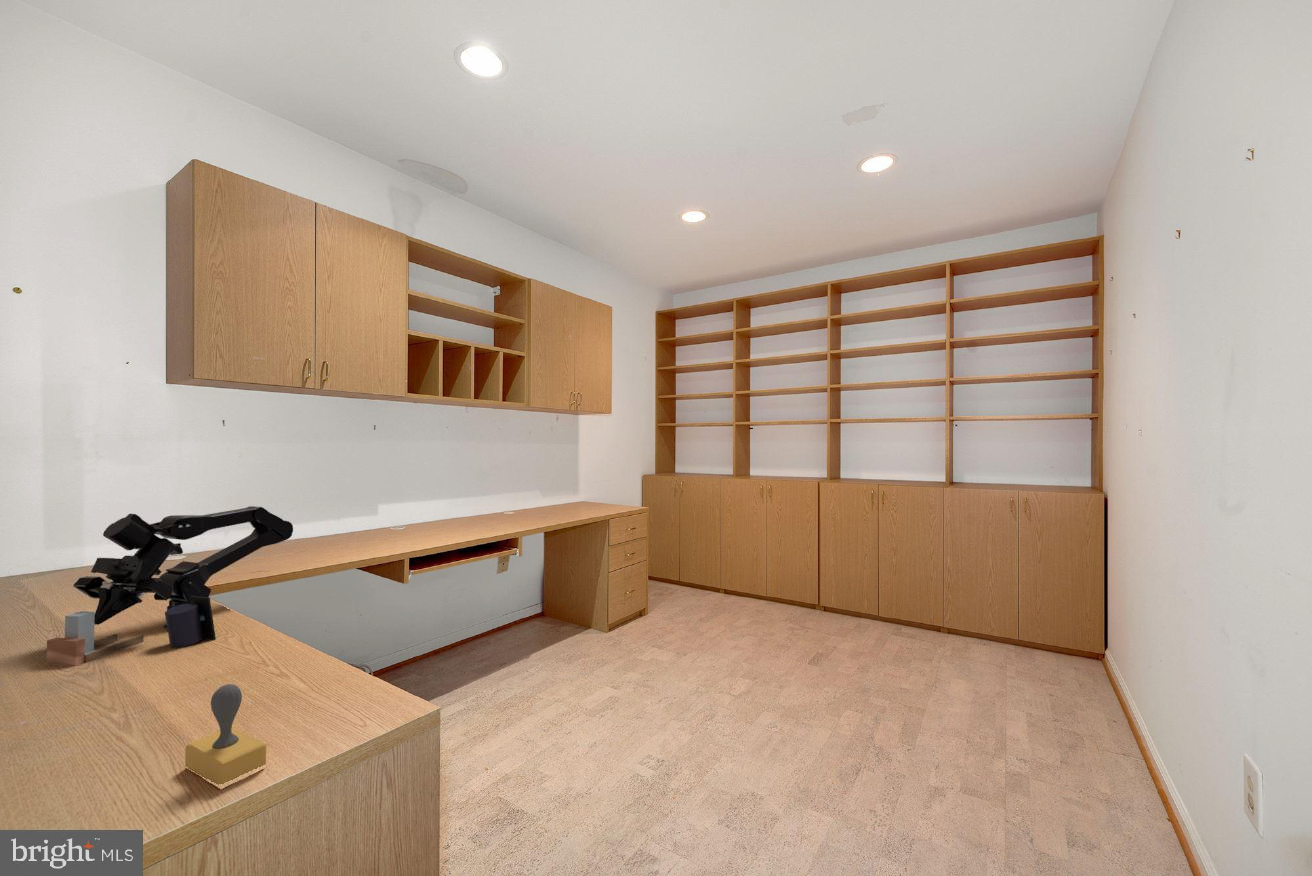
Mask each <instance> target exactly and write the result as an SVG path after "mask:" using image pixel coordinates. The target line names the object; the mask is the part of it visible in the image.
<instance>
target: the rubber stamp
mask: <svg viewBox="0 0 1312 876" xmlns="http://www.w3.org/2000/svg"><path fill="white" fill-rule="evenodd" d="M242 697H243V694H242V691H241V689H240V688H239V686H238V685H236V684H233V683H228V684H227V683H226V684H224V685H222V686H220V687H218V689H216V690H215V691H214V693H213V694H212V696H211V699H210V708H211V711H212V713H213V715H214V718H215V720H216V721H217V723H218V726H219V729H220V730H218V731H215V732H212V733H211V734H208V735H205V736H203V737H201V738H198V739H196V740H193V741H190V742H188V743H187V744H186V745H185V750H184V751H185V761H184V763H185V765H184V766H186V767H188V769H190V770H192V771H194V772H195V773H197V774H199V775H201V776H202V777H204V778H206V779H209V780H211V782H214V783H216V784H218V785H219V784H224V783H225V782H228V781H230V780H233V779H235V778H237V777H239V776H240V775H243V774H245V773H248V772H249V771H252V770H253V769H257V768H258V767H261V766H263V765H265V764H266V765H267V743H266V742H263V741H261V740H259V739H257V738H255V737H253V736H251V735H249V734H248V733H245V732H243V731H241V730H239V729H238V728H236V727H233V723H234V720H235V718H236V716H237V713H238V712H239V709H240V706H241V704H242V699H243V698H242Z"/></svg>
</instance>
